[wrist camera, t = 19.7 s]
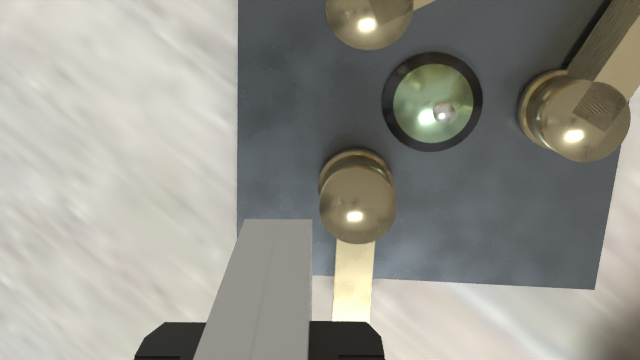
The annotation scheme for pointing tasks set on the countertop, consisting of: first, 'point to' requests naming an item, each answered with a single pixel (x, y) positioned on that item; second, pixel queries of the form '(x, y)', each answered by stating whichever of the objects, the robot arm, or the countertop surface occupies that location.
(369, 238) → the knob
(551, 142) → the brass lever handle
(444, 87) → the tribrach plate
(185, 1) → the countertop surface
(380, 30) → the knob
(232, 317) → the robot arm
